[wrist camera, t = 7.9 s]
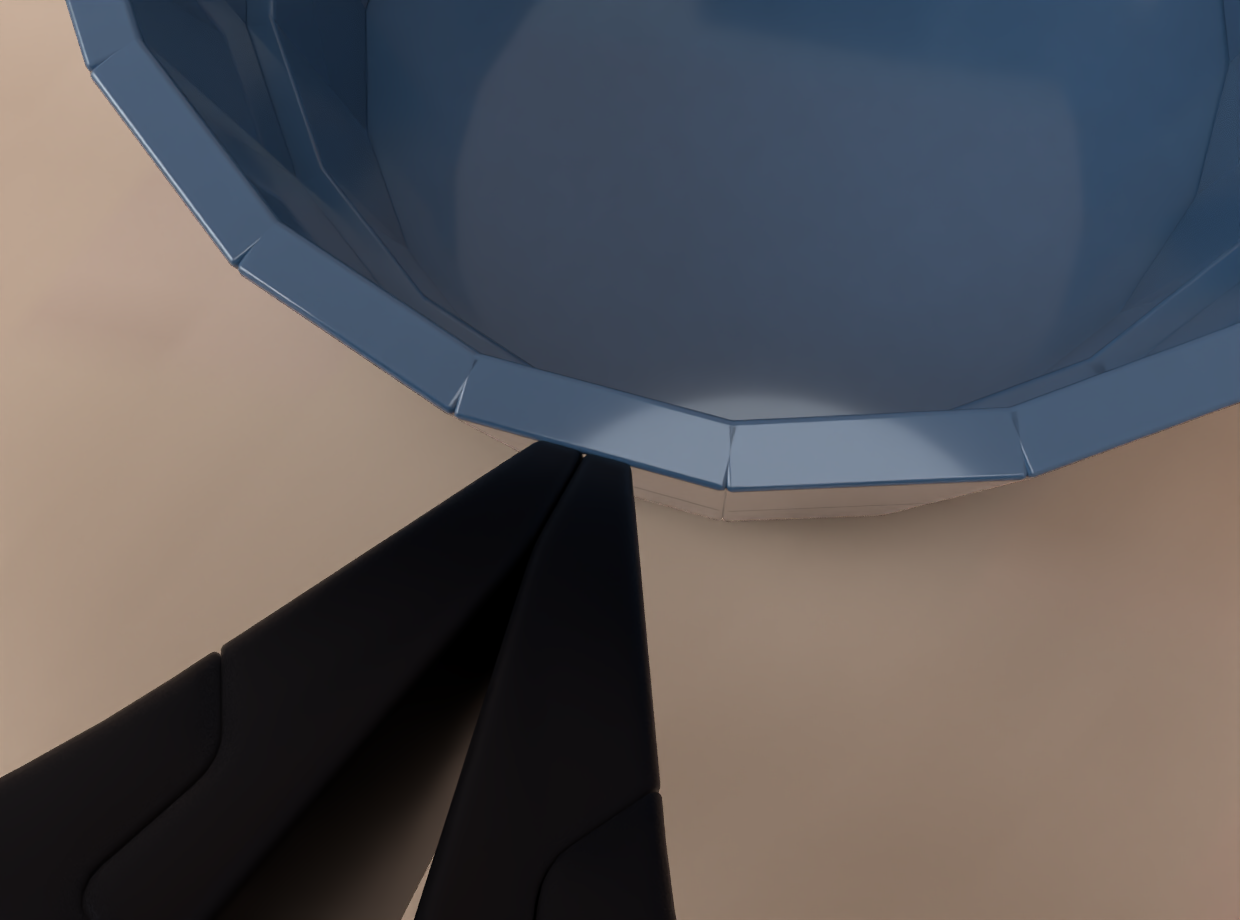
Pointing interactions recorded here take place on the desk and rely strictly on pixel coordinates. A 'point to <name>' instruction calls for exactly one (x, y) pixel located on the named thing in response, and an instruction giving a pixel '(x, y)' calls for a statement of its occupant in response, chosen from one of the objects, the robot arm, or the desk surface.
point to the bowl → (729, 221)
